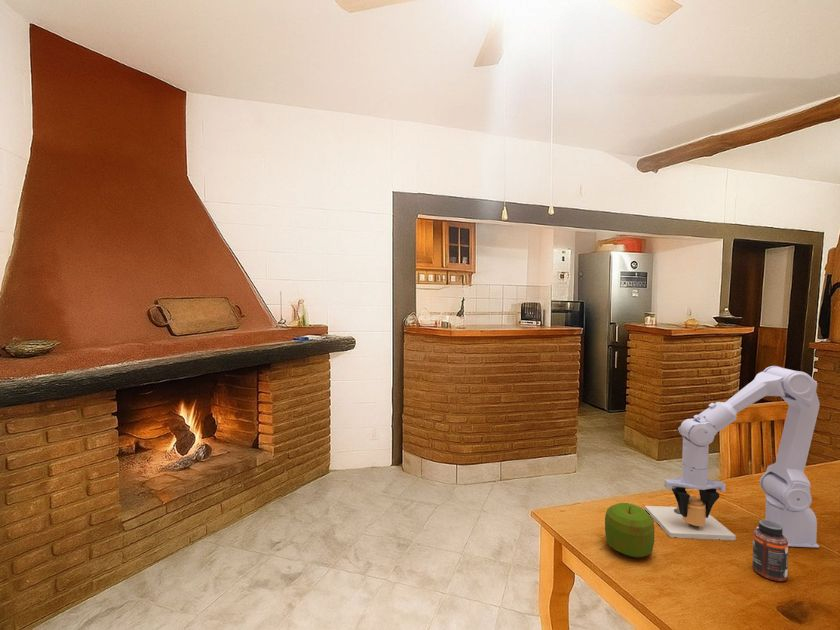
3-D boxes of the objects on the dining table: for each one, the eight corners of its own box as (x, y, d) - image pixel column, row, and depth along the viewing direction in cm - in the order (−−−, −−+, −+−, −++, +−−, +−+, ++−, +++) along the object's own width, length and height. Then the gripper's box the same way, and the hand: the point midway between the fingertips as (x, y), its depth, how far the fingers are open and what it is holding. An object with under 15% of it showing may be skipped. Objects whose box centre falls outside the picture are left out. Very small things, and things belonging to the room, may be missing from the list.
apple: (607, 532, 107) (607, 491, 107) (654, 544, 101) (654, 502, 101) (602, 554, 97) (602, 510, 97) (653, 569, 92) (654, 523, 91)
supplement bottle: (795, 582, 88) (796, 531, 87) (770, 583, 87) (771, 532, 87) (769, 564, 94) (770, 516, 93) (745, 565, 93) (746, 517, 93)
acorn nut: (697, 516, 110) (698, 495, 110) (709, 526, 105) (709, 504, 105) (679, 515, 110) (679, 495, 110) (689, 525, 105) (690, 504, 105)
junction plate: (701, 512, 117) (702, 498, 117) (735, 540, 103) (736, 524, 103) (644, 509, 118) (644, 496, 118) (670, 537, 104) (670, 522, 104)
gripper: (713, 460, 111) (712, 508, 111) (658, 458, 112) (658, 506, 112) (731, 471, 103) (730, 522, 104) (672, 469, 105) (671, 520, 105)
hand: (693, 515), depth 108 cm, fingers closed on acorn nut, 5 cm apart
